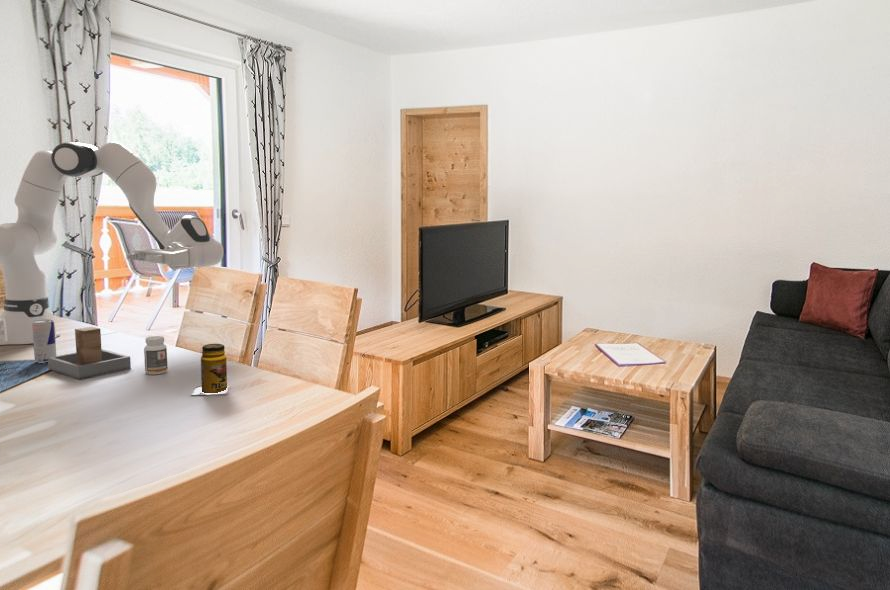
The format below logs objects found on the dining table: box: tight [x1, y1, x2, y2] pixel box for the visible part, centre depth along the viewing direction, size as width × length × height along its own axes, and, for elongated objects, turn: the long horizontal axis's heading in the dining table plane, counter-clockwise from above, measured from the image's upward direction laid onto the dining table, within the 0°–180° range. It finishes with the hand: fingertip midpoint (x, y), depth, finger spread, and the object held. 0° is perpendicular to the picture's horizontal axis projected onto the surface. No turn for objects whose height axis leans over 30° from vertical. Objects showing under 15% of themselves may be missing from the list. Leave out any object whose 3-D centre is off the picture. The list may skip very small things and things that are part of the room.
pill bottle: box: [143, 335, 169, 376], centre depth 165 cm, size 6×6×10 cm
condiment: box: [198, 343, 228, 393], centre depth 150 cm, size 7×8×12 cm
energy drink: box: [32, 320, 57, 364], centre depth 173 cm, size 5×5×12 cm
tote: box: [47, 348, 132, 381], centre depth 167 cm, size 16×14×4 cm
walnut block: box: [74, 326, 102, 366], centre depth 166 cm, size 4×4×11 cm
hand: (136, 258), depth 181 cm, fingers open, 8 cm apart
